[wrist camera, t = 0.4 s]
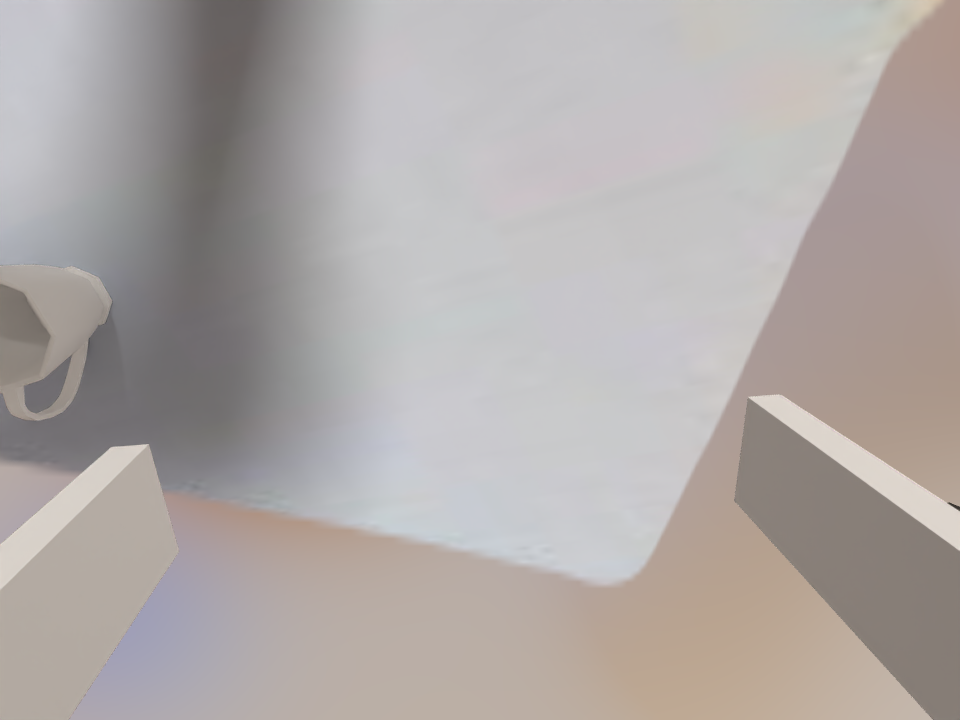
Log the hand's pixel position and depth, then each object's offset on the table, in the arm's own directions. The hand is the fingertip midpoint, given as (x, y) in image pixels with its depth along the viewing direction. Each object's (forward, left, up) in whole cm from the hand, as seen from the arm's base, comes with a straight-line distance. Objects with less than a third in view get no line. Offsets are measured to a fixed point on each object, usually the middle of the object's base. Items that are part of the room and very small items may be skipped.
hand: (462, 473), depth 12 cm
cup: (0, -24, -27) cm, 36 cm away
